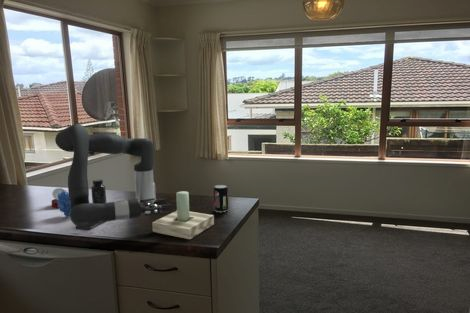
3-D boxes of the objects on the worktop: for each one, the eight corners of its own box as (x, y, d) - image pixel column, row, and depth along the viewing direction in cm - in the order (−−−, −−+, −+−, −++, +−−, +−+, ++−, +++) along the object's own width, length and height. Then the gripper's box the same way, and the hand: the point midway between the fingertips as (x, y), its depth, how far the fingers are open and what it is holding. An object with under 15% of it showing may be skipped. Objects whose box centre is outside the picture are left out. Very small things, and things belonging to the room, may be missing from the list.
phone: (112, 216, 163) (89, 228, 149) (112, 219, 163) (90, 231, 149) (97, 215, 165) (74, 226, 151) (97, 217, 165) (74, 229, 151)
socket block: (179, 218, 162) (178, 209, 161) (213, 224, 154) (213, 215, 153) (152, 231, 146) (152, 222, 145) (189, 239, 138) (189, 229, 137)
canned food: (68, 210, 190) (76, 193, 192) (70, 214, 181) (78, 195, 183) (45, 204, 184) (54, 185, 186) (47, 207, 176) (55, 187, 177)
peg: (182, 225, 153) (180, 190, 151) (192, 226, 151) (190, 192, 148) (175, 229, 149) (173, 193, 146) (185, 231, 146) (183, 195, 144)
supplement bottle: (109, 201, 189) (107, 179, 187) (100, 205, 183) (98, 182, 181) (98, 200, 192) (96, 178, 190) (89, 204, 185) (87, 181, 183)
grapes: (51, 217, 165) (48, 192, 163) (64, 213, 171) (61, 188, 169) (68, 221, 160) (65, 195, 158) (81, 216, 166) (78, 191, 164)
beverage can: (228, 212, 168) (228, 187, 166) (214, 213, 168) (213, 188, 166) (227, 208, 175) (227, 184, 173) (214, 209, 174) (213, 184, 172)
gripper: (128, 205, 132) (172, 199, 139) (124, 195, 145) (164, 190, 152) (129, 224, 134) (173, 218, 140) (125, 213, 147) (165, 208, 153)
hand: (168, 204), depth 146 cm, fingers open, 8 cm apart
